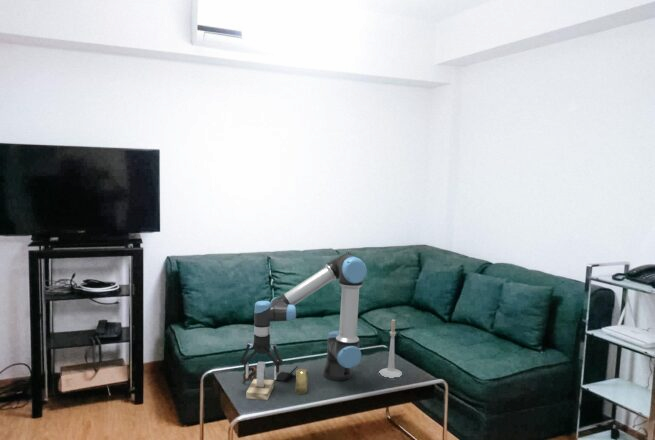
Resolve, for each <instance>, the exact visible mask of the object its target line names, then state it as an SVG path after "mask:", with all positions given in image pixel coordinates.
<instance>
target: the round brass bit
mask: <svg viewBox="0 0 655 440" xmlns="http://www.w3.org/2000/svg"><path fill="white" fill-rule="evenodd" d="M308 372H309V371H308V370H307V369H305V368H298V369H295V393H296V394H298V395H302V394H303V395H304V394H306V393H307V392H308V374H309V373H308Z"/></svg>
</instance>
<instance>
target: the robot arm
mask: <svg viewBox="0 0 655 440" xmlns="http://www.w3.org/2000/svg"><path fill="white" fill-rule="evenodd" d="M367 269H368V268H367V267H366V263H365V262H364V261H363V260H362V259H361V258H359V257H357V256H354V255H352V254H350V253H343V254H341V255H338V256H337V257H334V259H332V260H330V261H329V262H327V263H326V264H325V266H324V268H322V269H320V270H318V271H317V272H316V273H314V274H313V275H311V276H309V277H308V278H306V279H305V280H303V281H302V282H300V283H299V284H297V285H296V286H294V287H292V288H291V289H290V290H288V291H287V292H285V293H283V294H282V295H280V296H275V297H273V298H272V299H271V300H270V301H268V300H258V301H256V302H255V303H254V311H253V314H254V315H253V316H254V317H253V318H254V319H253V321H254V322H253V334H254V335H253V343H251V342H248V343H247V345H246V349H245V350H244V352H243V355H242V356H241V358H240V360H239V362H240V364H243V372H244V371H246V375H245V376H246V378H248V376H249V374H250V373H249V372H250V371H249V368H250V363H249V361H250V360H251V359H252V358H254V356H255V355H256V354H257V355H266V356H268V357H269V359H270V360H271V361H272V362H273V363H274V371H273V380H276V378H277V375H278V374H279V373H280V366H283V364H284V361H283V359H282V357H281V354H280V352H279V350H278V346H277V344H276V343H274V344H271V322H292V321H295V320H296V318H297V309H296V305H297V304H299V303H300V302H301V301H303V300H305V299H306V298H308V297H309V296H310V295H312V294H314V293H315V292H316V291H318V290H320V289H321V288H323V287H325V285H328V284H329V283H330V282H332V281H337V280H338V279H339V280H338V284H339V285H340V287H341V298H340V310H339V311H340V312H339V313H340V315H339V327H338V328H339V330H333V331H330V332H328V333H327V344H326V345H327V348H326V362H325V365H324V368H323V371H322V376H323V378H326V379H327V380H331V381H340V382H341V380H342V381H347V380H346V379H348V380H349V378H350V379H351V378H352V377H353V370H352V369H353V368H354V367H356V366H357V365H358V364H360V362H361V360H362V352H361V350H360V338H359V337H358V335H357V333H358V316H359V302H360V301H359V298H360V288H361V287H362V286H363V284H364V279H365V278H366V276H367V272H368V271H367ZM252 348H253V351H252V353H250V355H249V356H248V357H247V355H248V353H249V351H250V349H252ZM271 349H272V351H273V353H274V354H273V353H272V351H271ZM275 356H276V357H275ZM246 357H247V358H246ZM351 376H352V377H351Z"/></svg>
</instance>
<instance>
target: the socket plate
mask: <svg viewBox="0 0 655 440" xmlns="http://www.w3.org/2000/svg"><path fill="white" fill-rule="evenodd" d="M256 383H257V378H253V379H252V380H251V383H250V385H249V387H248V389H247V390H246V393H245V399H247V400H261V401H268V400H269V398H270V395H271V393H272V391H273V389H274V386H275V381H274V379H266V378H265V388H256Z"/></svg>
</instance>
